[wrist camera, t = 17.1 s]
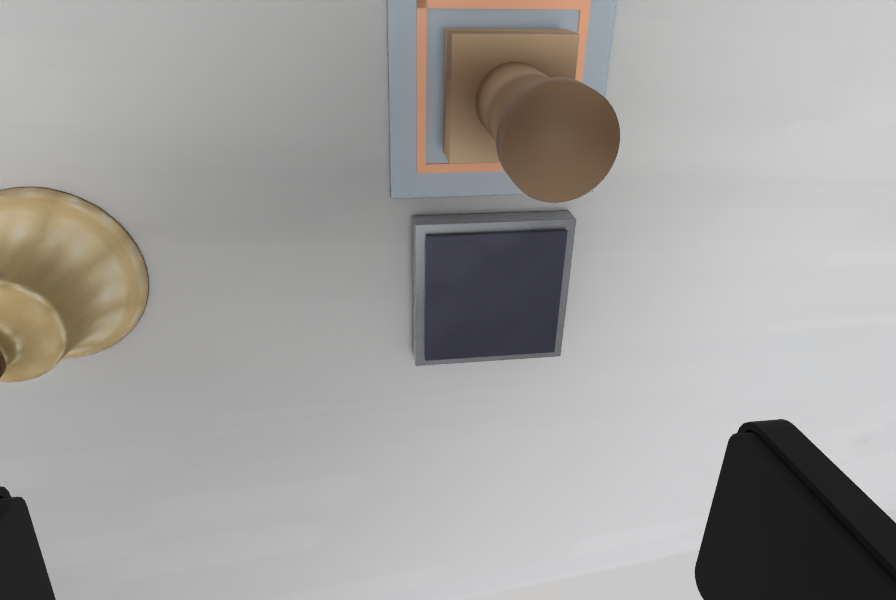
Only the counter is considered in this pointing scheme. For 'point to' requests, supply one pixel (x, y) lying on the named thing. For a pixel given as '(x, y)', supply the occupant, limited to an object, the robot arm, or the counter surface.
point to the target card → (422, 82)
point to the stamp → (526, 110)
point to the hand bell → (63, 281)
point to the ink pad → (490, 285)
